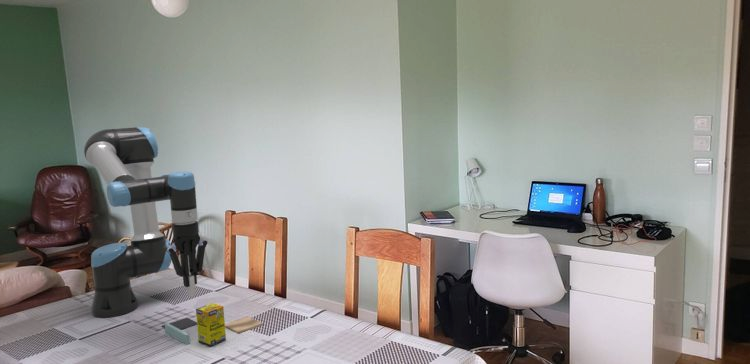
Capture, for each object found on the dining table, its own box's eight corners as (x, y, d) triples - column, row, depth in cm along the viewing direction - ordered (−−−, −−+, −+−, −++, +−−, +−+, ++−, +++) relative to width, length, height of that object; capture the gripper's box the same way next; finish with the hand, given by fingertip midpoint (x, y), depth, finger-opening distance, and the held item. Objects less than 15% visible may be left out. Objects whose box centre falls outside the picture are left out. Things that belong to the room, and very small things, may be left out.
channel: (165, 332, 176) (164, 323, 176) (200, 321, 185) (199, 312, 184) (186, 344, 167) (186, 335, 166) (222, 331, 175) (221, 322, 175)
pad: (223, 326, 179) (223, 324, 179) (247, 318, 186) (246, 316, 186) (238, 333, 173) (238, 331, 173) (262, 324, 180) (262, 322, 180)
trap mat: (161, 326, 182) (161, 325, 181) (187, 318, 188) (186, 317, 188) (172, 332, 176) (172, 332, 176) (198, 324, 182) (198, 323, 182)
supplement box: (210, 347, 164) (207, 312, 163) (198, 342, 168) (195, 308, 166) (226, 340, 169) (223, 305, 167) (214, 335, 172) (211, 302, 171)
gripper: (170, 227, 163) (177, 304, 166) (210, 219, 172) (216, 292, 176) (159, 224, 168) (166, 298, 172) (198, 216, 177) (204, 287, 181)
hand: (191, 295), depth 174 cm, fingers closed
